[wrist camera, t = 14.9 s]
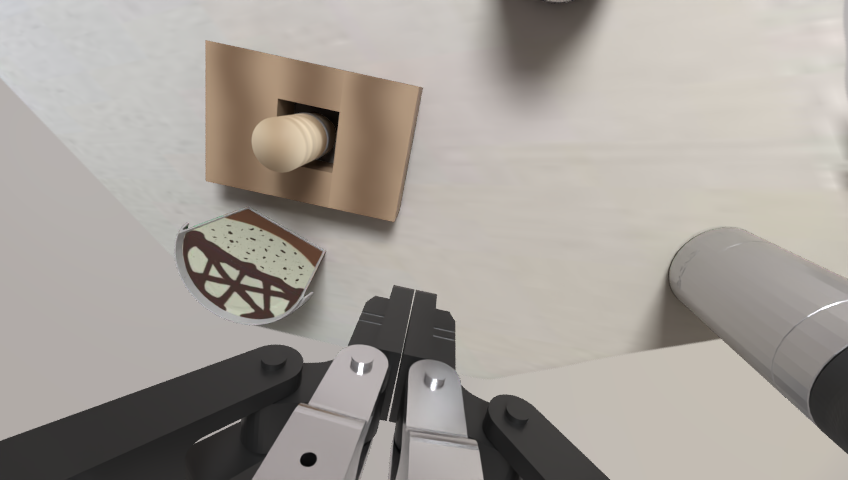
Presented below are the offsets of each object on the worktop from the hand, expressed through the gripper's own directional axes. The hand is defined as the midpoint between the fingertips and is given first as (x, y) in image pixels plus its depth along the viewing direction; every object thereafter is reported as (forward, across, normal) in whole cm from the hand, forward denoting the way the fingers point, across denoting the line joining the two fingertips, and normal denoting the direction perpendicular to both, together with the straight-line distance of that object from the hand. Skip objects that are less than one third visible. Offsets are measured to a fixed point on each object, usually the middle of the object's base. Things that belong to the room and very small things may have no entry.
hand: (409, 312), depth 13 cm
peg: (+27, +12, -1) cm, 30 cm away
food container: (+27, +16, +13) cm, 34 cm away
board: (+27, +12, -1) cm, 30 cm away
